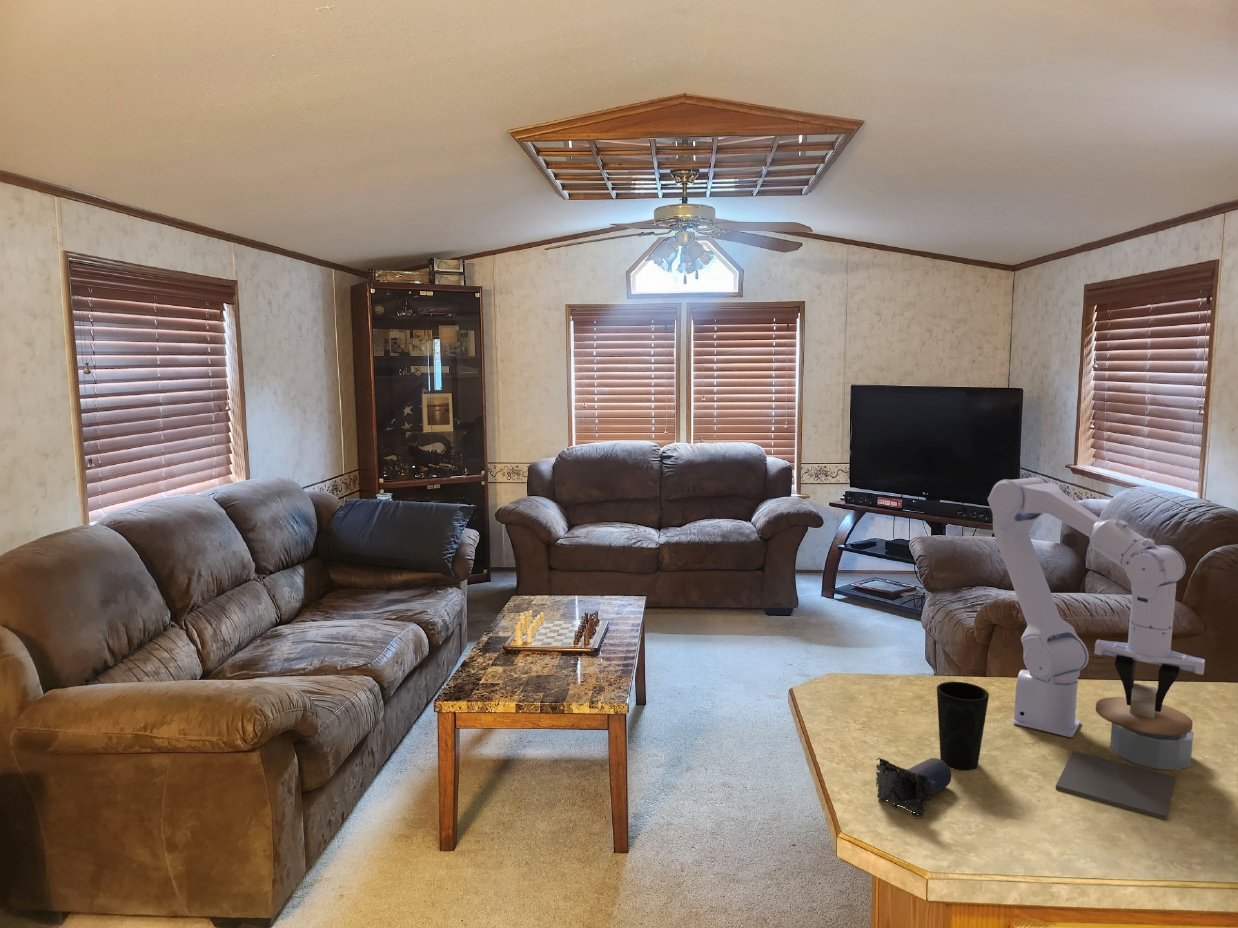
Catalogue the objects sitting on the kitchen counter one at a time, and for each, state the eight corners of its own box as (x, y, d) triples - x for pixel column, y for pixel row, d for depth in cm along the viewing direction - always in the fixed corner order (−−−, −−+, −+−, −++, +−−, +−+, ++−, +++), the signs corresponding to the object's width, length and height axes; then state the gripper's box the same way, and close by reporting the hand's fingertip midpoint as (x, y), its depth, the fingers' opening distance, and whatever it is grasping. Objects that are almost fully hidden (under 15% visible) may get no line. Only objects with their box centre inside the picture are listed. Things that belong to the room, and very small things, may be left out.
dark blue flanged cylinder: (920, 830, 118) (957, 803, 126) (933, 782, 116) (971, 758, 125) (863, 795, 124) (903, 771, 133) (876, 749, 123) (915, 728, 131)
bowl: (1106, 755, 137) (1108, 729, 136) (1116, 731, 145) (1117, 707, 145) (1187, 776, 130) (1190, 748, 129) (1192, 749, 139) (1195, 723, 138)
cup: (985, 756, 137) (989, 685, 135) (984, 777, 130) (988, 703, 128) (935, 747, 140) (938, 678, 138) (931, 767, 133) (934, 695, 131)
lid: (1088, 719, 132) (1091, 689, 132) (1103, 695, 142) (1105, 668, 142) (1188, 742, 124) (1190, 711, 124) (1195, 715, 134) (1198, 686, 134)
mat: (1055, 788, 126) (1055, 785, 126) (1072, 753, 137) (1072, 750, 137) (1166, 819, 118) (1166, 815, 118) (1174, 779, 129) (1175, 776, 129)
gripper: (1093, 620, 133) (1087, 702, 135) (1205, 640, 124) (1196, 727, 126) (1101, 610, 138) (1095, 689, 140) (1208, 627, 129) (1200, 711, 131)
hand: (1143, 706), depth 133 cm, fingers closed on lid, 3 cm apart
